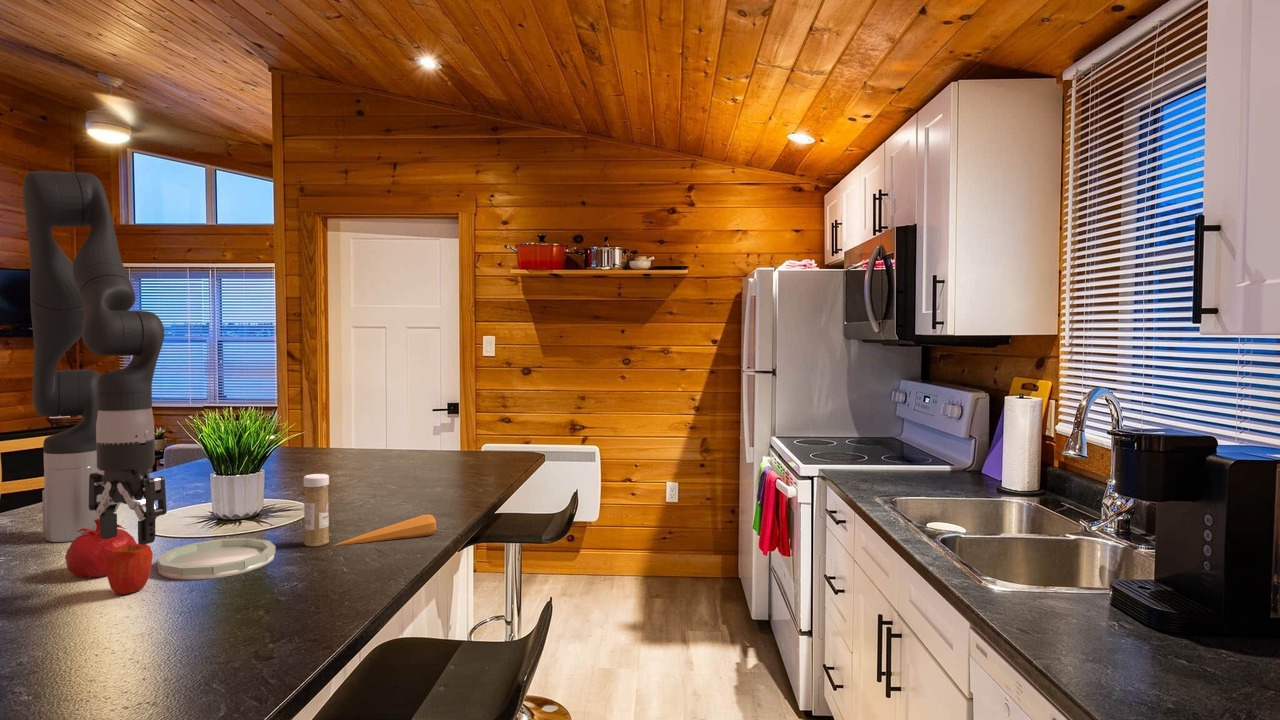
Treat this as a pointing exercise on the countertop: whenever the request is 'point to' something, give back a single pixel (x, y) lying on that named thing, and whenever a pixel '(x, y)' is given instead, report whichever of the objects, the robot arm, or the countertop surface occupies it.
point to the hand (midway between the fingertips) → (127, 540)
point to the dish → (215, 558)
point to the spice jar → (316, 509)
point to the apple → (128, 567)
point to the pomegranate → (93, 551)
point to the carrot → (398, 531)
